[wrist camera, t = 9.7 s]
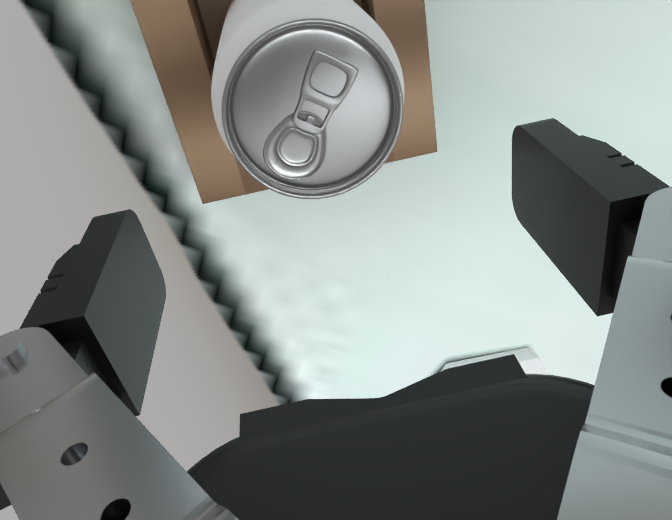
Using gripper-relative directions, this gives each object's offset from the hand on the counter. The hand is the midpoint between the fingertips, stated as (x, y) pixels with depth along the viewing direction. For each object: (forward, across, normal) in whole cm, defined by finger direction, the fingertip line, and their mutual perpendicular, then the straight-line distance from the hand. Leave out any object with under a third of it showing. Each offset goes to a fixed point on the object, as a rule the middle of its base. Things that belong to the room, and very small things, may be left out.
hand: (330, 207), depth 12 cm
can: (+18, 0, 0) cm, 18 cm away
